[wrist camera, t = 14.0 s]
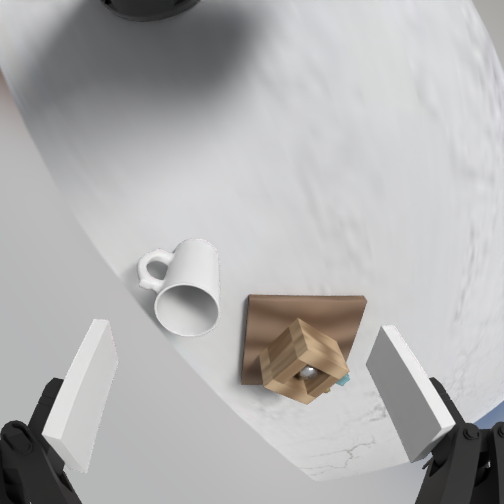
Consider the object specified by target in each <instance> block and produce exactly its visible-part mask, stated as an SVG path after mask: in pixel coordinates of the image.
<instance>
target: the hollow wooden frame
mask: <svg viewBox="0 0 504 504" xmlns="http://www.w3.org/2000/svg"><path fill="white" fill-rule="evenodd" d="M259 357H260V364H261V371H262V378H263V385H264V387H265V388H267V389H269V390H272V391H274V392H276V393H279V394H281V395H284V396H286V397H289V398H291V399H294V400H296V401H299V402H301V403H304V404H307V405H308V404H309V403H310V402H312V401H313V400H314V399H316V398H317V397H318V396H320V395H321V394H322V393H323V392H325V391H326V390H327V389H329V388H330V387H331V386H332V385H334V384H335V383H336V384H338V385H341V386H343V385H344V384H345V383H346V382H347V381H349V380H350V378H349V375H348V372H350V371H349V369H348V367H347V364H346V362H345V360H344V357H343V355H342V353H341V350H340V348H339V346H338V344H337V341H335V340H333V339H332V338H330V337H328V336H327V335H325V334H323V333H322V332H320V331H318V330H317V329H315V328H314V327H312V326H310V325H309V324H307V323H305V322H304V321H302V320H301V319H299V318H297V319H296V320H295V321H294V322H293V323H292V324H291V325H290V326H289V327H288V328H287V329H286V330H285V331H283V332H282V333H281V334H280V335H279V336H278V337H277V338H276V339H275V340H274V341H273V342H272V343H271V344H270V345H269V346H268V347H267V348H266V349H264V350H263V351H262V352H261V353H260V354H259ZM307 364H309V365H311V366H313V367H315V368H317V371H318V374H317V376H316V377H315V378H313V379H310V380H305V379H303V378H302V377H301V374H300V370H301V369H302V368H304V367H305V366H306V365H307Z"/></svg>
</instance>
